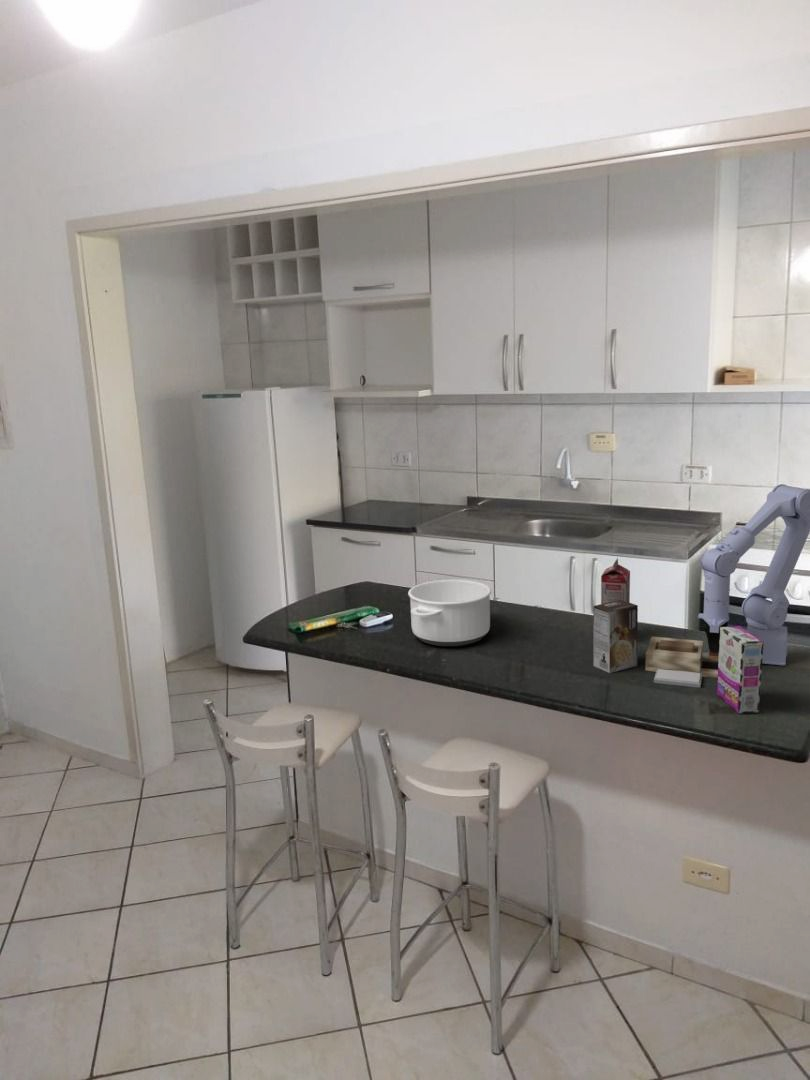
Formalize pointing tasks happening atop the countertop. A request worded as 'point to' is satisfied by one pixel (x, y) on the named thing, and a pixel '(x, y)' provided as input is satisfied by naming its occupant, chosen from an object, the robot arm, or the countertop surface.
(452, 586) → the pot
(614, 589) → the juice carton
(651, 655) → the pocket board
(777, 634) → the robot arm
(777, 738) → the countertop surface
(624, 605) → the coffee box
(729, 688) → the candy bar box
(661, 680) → the grey pad
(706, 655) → the lever
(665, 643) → the walnut block
